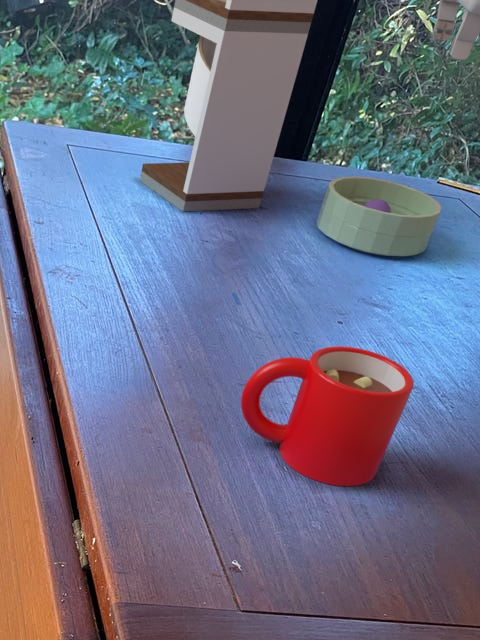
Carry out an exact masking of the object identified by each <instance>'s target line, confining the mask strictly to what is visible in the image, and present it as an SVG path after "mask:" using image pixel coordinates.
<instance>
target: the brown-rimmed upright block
mask: <svg viewBox="0 0 480 640" xmlns="http://www.w3.org/2000/svg"><path fill="white" fill-rule="evenodd" d="M317 4H318V0H174V6H173V11H172V14H171V15H172V16H171V19H170V21H171V22H172V23H174V24H175V25H179V26H180V27H182V28H184V29H187V30H188V31H191V32H193V33H194V34H197V35H199V39H198V42H197V47H196V51H195V57H194V61H193V67H192V70H191V75H190V80H189V84H188V88H187V93H186V99H185V103H184V109H183V113H184V114H183V115H184V119H185V122H186V125H187V126H188V128H189V130H190V132H191V133H192V135H193V136H194V141H193V146H192V149H191V150H192V151H191V156H190V160H189V162H159V163H158V162H157V163H156V162H155V163H142V167H141V172H140V177H139V182H141V183H142V184H144V185H145V186H147V187H148V188H149V189H151V190H152V191H154V193H157V194H158V195H159V196H161V197H162V198H163V199H165V200H166V201H167V202H169V203H170V204H171V205H173V206H174V207H176V208H177V209H178V210H180V211H182V212H202V211H203V212H204V211H205V212H206V211H221V210H222V211H223V210H244V209H245V210H246V209H259V208H260V206H261V203H262V199H263V196H264V192H265V189H266V185H267V182H268V178H269V174H270V172H271V171H270V170H271V168H272V165H273V160H274V157H275V153H276V149H277V146H278V142H279V139H280V136H281V132H282V128H283V125H284V121H285V117H286V115H287V114H286V113H287V111H288V107H289V103H290V100H291V96H292V93H293V89H294V85H295V82H296V79H297V75H298V72H299V67H300V64H301V61H302V58H303V53H304V50H305V46H306V42H307V39H308V36H309V31H310V28H311V25H312V21H313V17H314V16H315V15H314V14H315V11H316V8H317Z"/></svg>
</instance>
